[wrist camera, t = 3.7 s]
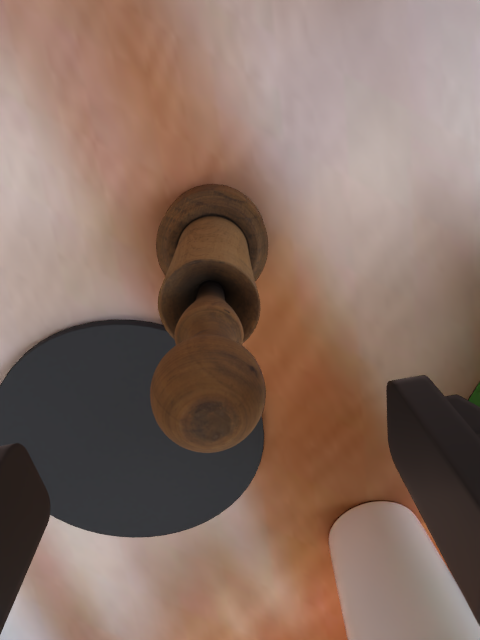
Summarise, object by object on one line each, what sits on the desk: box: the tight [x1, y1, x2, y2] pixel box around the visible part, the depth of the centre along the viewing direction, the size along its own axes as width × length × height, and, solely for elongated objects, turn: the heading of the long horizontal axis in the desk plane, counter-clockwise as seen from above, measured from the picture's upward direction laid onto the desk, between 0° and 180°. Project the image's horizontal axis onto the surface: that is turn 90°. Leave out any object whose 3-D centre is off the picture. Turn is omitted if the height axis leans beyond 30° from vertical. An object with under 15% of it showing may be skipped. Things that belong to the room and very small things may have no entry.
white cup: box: [329, 501, 480, 640], centre depth 33 cm, size 10×10×12 cm
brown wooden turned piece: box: [150, 184, 268, 453], centre depth 18 cm, size 7×6×18 cm
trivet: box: [0, 320, 264, 537], centre depth 32 cm, size 20×20×1 cm
